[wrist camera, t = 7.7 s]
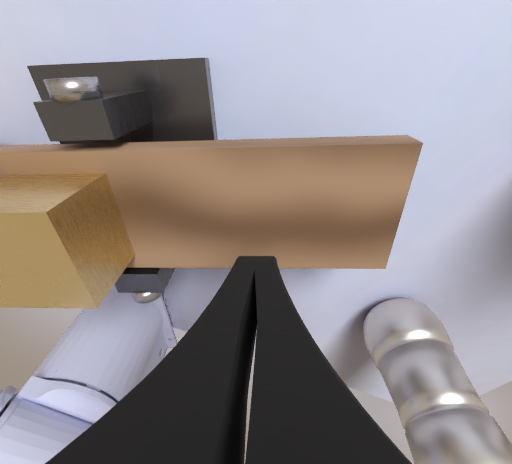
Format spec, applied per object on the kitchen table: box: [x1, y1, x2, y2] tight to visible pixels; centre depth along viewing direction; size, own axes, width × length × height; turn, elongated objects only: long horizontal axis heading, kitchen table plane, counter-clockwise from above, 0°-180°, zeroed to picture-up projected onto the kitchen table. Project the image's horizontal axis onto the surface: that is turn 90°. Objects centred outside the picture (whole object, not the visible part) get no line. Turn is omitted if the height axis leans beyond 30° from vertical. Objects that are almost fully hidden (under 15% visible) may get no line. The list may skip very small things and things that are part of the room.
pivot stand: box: [27, 58, 218, 304], centre depth 16 cm, size 14×10×6 cm
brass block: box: [0, 173, 135, 309], centre depth 12 cm, size 5×5×4 cm
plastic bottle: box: [363, 298, 512, 464], centre depth 17 cm, size 6×7×20 cm
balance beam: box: [0, 135, 423, 269], centre depth 16 cm, size 7×30×4 cm, turn 92°
